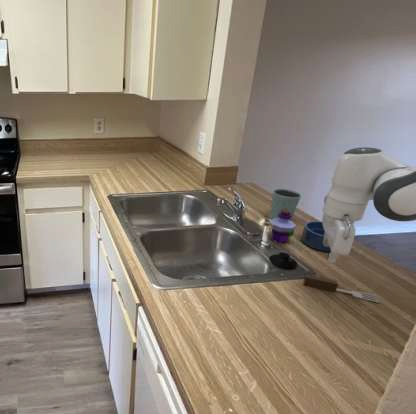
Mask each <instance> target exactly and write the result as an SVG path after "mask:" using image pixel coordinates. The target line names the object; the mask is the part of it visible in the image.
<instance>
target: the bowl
mask: <svg viewBox="0 0 416 414" xmlns="http://www.w3.org/2000/svg"><path fill="white" fill-rule="evenodd" d="M324 233H325V231H324V227H323V224H322V221H317V220H313V221H307V222H305V224H304V226H303V230H302V233H301V237H300V239H301V241H302V242H303V243H304V244H305V245H306V246H307V247H310V248H312V249H314V250H317V251H321V252H327V253H330V252H331V249H330V247H327V246H324V245H323V240H324Z"/></svg>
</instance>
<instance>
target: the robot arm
mask: <svg viewBox="0 0 416 414" xmlns="http://www.w3.org/2000/svg"><path fill="white" fill-rule="evenodd" d="M370 201H372V202H373V207H374V209H375V210H376V211H377V213H378V214H379V215H381V216H382V217H384V218H386V219H388V220H391V221H394V222H395V221H396V222H411V221H412V222H413V221H416V168H415V167H412V166H409V165H407V164H404V163H401V162H399V161H397V160H396V159H393V158H392V157H390V156H388V155H387V154H386V153H385V152H384V151H383V150H382V149H380V148H376V147H367V146H366V147H354V148H350V149H348V150H346V151H345V152H343V153H342V154H341V155H340V157H339V159H338V161H337V164H336V166H335V169H334V172H333V175H332V177H331V187H330V189H329V191H328V192H327V194H326V195H325V196H324V199H323V203H324V204H323V207H322V212H323V213H322V218H321V222H322V224H323V227H324V231H325V233H324V240H323V245H324V246H327V247H330V249H331V252H329V253H328V255H327V262H328V263H331V264H336V263H337V261H338V258H339V257H340V256H344V257H347V256H348V255H349V254H350V253H351V251H352V247H353V243H354V240H355V236H356V228H355V225H354V224H355V222H360V221H361V220H362V219H363V217H364V215H365V212H366V209H367V207H368V204H369V202H370Z"/></svg>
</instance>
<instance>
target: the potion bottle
mask: <svg viewBox="0 0 416 414" xmlns="http://www.w3.org/2000/svg"><path fill="white" fill-rule="evenodd" d="M290 212H291V211H290V210H287V209H282V210H281V212H279V213H278V217H279V218H274V219H272V220H271V222H272V224H273V229H272V232H271V231H270V238H271V237H272V239H273V240H275V241H277V242H276V243H278V242H281V243H280V244H286V243H288V240H289V239H290V238H291V237H292V236H293V235H294V233H295V230H296V228H297V225H296V224H295V222H294V221H293V220H292V221H289V219H291V218H292V214H291V213H290ZM292 219H293V218H292ZM272 239H271V240H272ZM273 240H272V241H273ZM275 241H274V242H275Z"/></svg>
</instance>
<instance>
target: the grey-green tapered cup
mask: <svg viewBox="0 0 416 414" xmlns="http://www.w3.org/2000/svg"><path fill="white" fill-rule="evenodd" d="M301 197H302V194H301V193H300V192H298V191H295V190H291V189H287V188H275V189H273V190H272V196H271V203H270V210H269V214H268V219H269V218H270V219H271V220H272V219H274V218H279V217H278V213H279V212H281V210H282V209H287V210H290V211H291V212H290V213H291V214H292V218H291V219H289V221H292V222H293V218H294V214H295V212H296V210H297V207H298V204H299V202H300V200H301ZM270 219H269V220H270Z"/></svg>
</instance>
